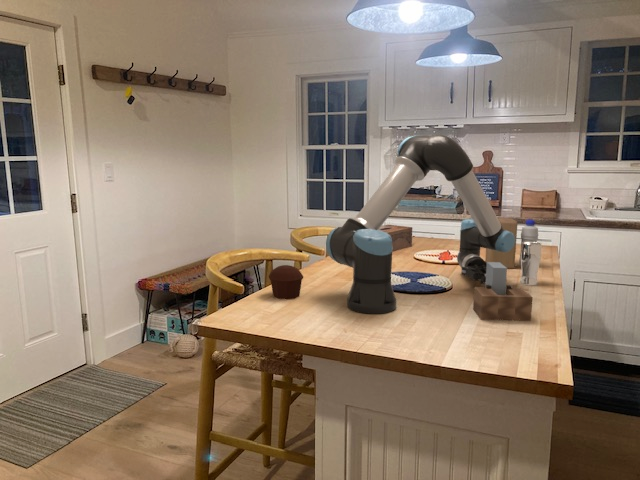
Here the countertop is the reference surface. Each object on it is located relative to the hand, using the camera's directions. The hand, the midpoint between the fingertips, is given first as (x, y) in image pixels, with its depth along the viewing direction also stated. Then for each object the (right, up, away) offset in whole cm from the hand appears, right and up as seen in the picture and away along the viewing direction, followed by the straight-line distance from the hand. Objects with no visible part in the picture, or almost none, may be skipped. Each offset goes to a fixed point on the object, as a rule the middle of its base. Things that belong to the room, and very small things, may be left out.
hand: (491, 282), depth 165 cm
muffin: (-66, -5, +8) cm, 66 cm away
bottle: (+31, +2, +51) cm, 60 cm away
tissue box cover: (-22, +9, +91) cm, 94 cm away
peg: (0, -7, -3) cm, 8 cm away
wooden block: (+20, +2, +52) cm, 56 cm away
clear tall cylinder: (+22, -2, +25) cm, 33 cm away
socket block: (-1, -9, -11) cm, 14 cm away
